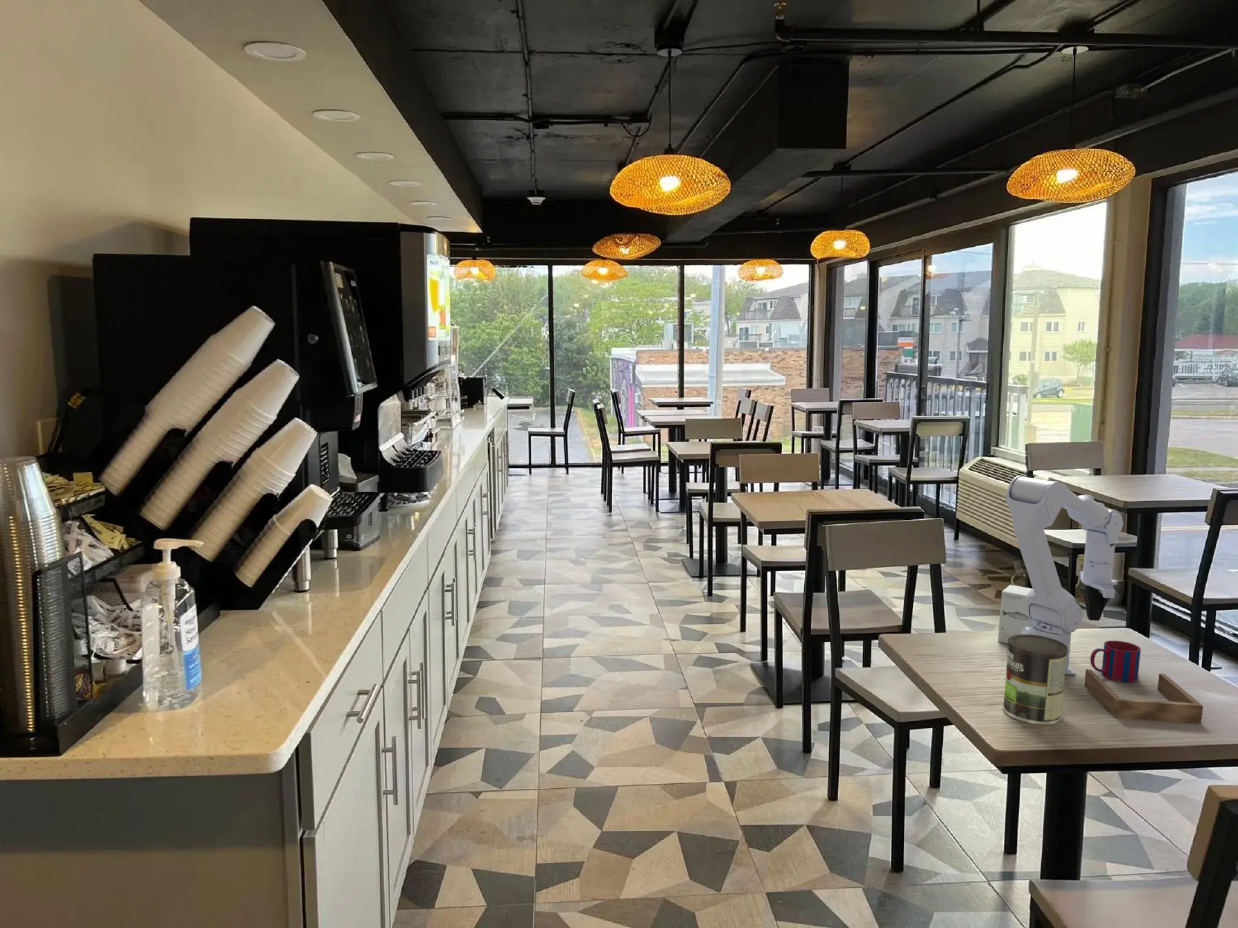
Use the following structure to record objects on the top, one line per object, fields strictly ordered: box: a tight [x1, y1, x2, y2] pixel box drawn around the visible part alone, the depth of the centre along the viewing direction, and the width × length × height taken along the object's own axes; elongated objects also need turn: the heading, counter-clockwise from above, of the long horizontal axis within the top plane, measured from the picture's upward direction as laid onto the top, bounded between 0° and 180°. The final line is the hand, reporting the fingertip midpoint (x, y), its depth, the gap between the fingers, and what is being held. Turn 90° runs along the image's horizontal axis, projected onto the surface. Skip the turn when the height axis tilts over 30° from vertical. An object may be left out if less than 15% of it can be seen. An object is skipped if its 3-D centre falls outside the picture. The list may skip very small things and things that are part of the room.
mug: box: [1089, 640, 1142, 684], centre depth 183 cm, size 7×10×7 cm
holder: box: [1084, 668, 1204, 724], centre depth 170 cm, size 15×16×4 cm
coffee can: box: [1002, 634, 1068, 726], centre depth 164 cm, size 10×10×14 cm
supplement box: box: [997, 584, 1033, 644], centre depth 203 cm, size 7×7×13 cm
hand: (1093, 619), depth 194 cm, fingers closed
